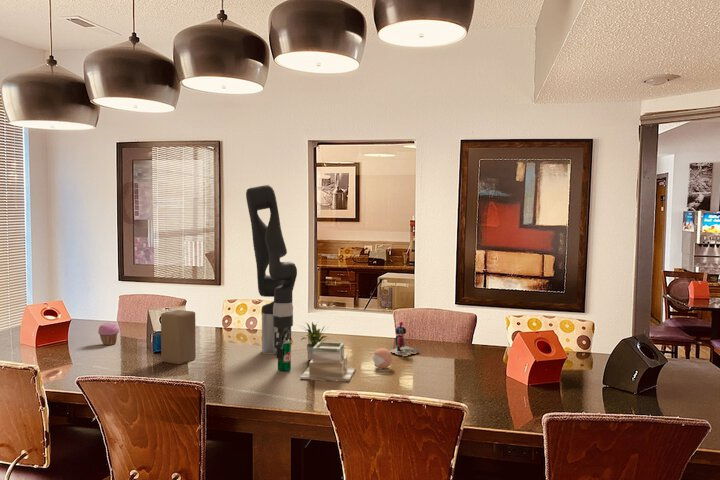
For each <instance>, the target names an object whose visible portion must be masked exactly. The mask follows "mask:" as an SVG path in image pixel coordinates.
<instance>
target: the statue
mask: <svg viewBox="0 0 720 480" xmlns="http://www.w3.org/2000/svg"><path fill="white" fill-rule="evenodd" d="M398 324H399V326H396V328H395V334H396V336H395V345H396V348H393V349H390V350H389V351H390V353H391V352H392V353H391V354H393V353H395V354H394V355H397V354H398V355H397V356H399V355H400V356H401V355H409V354H412V353H414V352H417V354H419V353H420V352H421V350H419V349H415V348H413V347H410V346H407V345H406V339H405V334H406V333H407V329H406V326H403V325H404V321H402V320H400V321H399V323H398ZM410 351H411V352H410Z"/></svg>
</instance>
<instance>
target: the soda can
mask: <svg viewBox="0 0 720 480" xmlns="http://www.w3.org/2000/svg"><path fill="white" fill-rule="evenodd" d="M291 341H292V340H291ZM291 341H290V339H286V341H285V344H284V345H283V358H282V359H277V371H279V372H281V373H287V372H290V371H291V370H292V342H291ZM278 345H279V344H278Z"/></svg>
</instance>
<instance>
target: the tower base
mask: <svg viewBox="0 0 720 480" xmlns="http://www.w3.org/2000/svg"><path fill="white" fill-rule="evenodd" d="M308 363H309V364H308V367H307V368H306V370H305V371H304V372H303V373H302V374H301V376H300V379H311V380H310V381H317V380H332V381H331V382H336V380H337V381H349V380H350V378H351V377H352V378H353V376H352V375H354V374H355V372H356V367H348V355H345V342H338V341H337V342H333V341H331V342H330V341H320V342H318V343H317V344H316V345H315V346H314V347H313V359H312V360H311V361H309V362H308ZM354 371H355V372H354ZM353 373H354V374H353ZM352 378H351V379H352ZM313 379H314V380H313ZM350 381H351V380H350Z"/></svg>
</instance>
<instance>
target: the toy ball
mask: <svg viewBox="0 0 720 480" xmlns="http://www.w3.org/2000/svg"><path fill="white" fill-rule="evenodd" d="M373 353H374V354H373V357H372V360H373V363H374V366H375V367H376V368H377V369H379V368H385V369H387V368H390V366H391V365H392V363H393V355H392V354H393V353H391V352H390V350H388V349H387V348H383V347H381V348H378V349H376V350H375V351H374V352H373Z"/></svg>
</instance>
